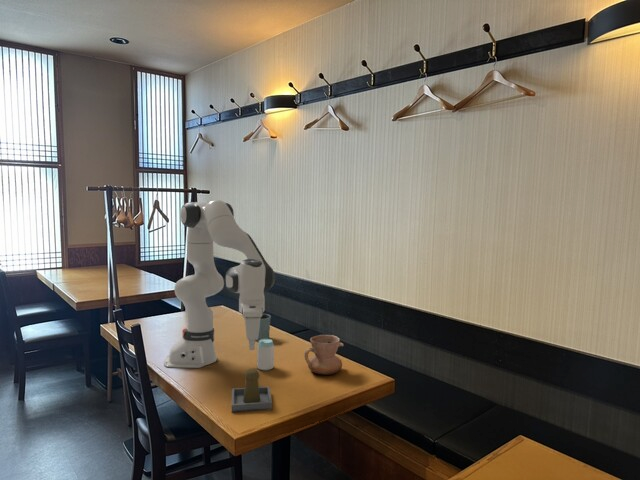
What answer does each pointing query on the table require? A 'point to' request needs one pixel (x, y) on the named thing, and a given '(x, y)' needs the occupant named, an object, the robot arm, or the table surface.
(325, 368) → the ceramic jug
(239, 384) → the table surface
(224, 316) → the table surface
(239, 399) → the tray
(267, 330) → the grey teal cup
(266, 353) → the can
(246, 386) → the olive tapered rounded piece
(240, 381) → the table surface
